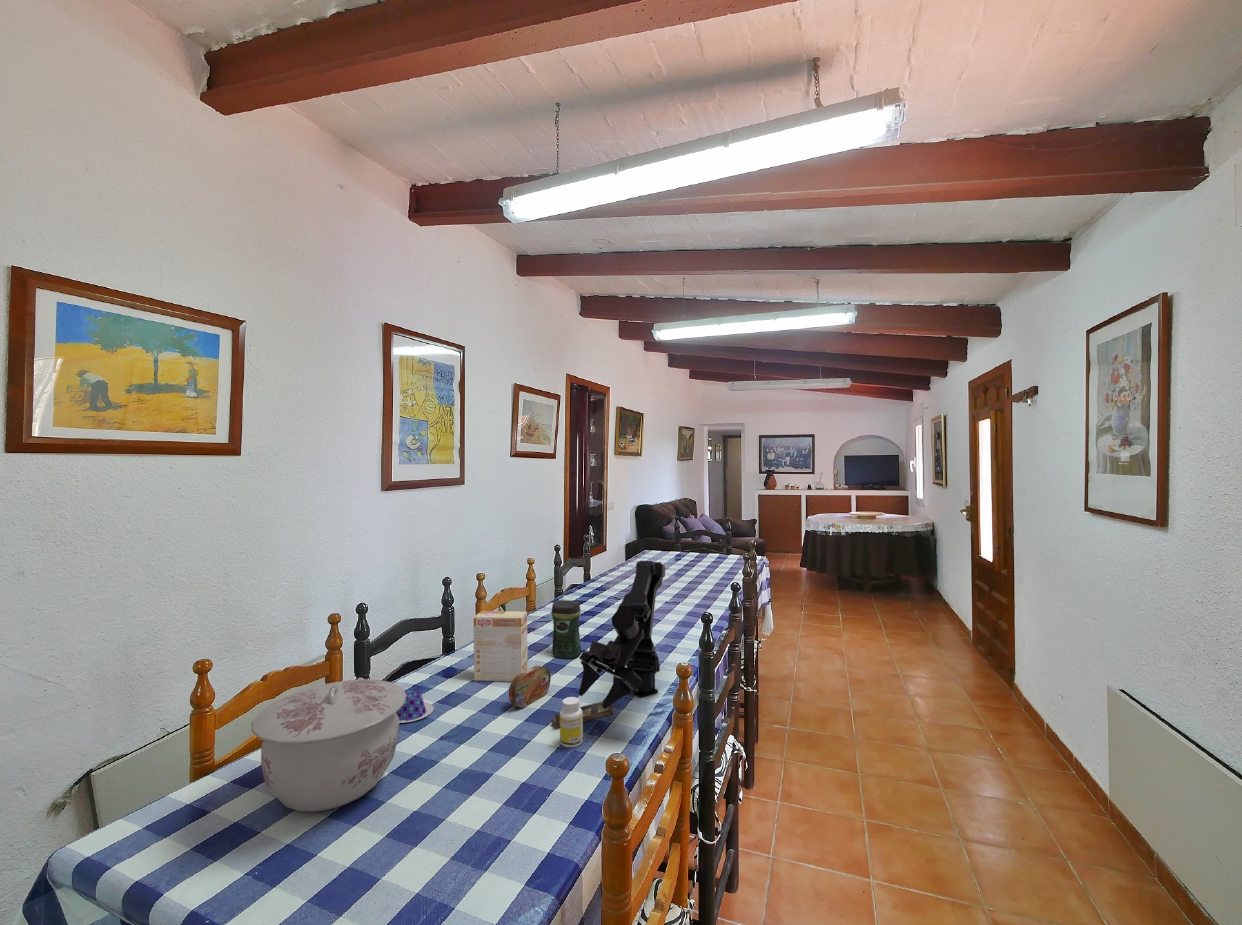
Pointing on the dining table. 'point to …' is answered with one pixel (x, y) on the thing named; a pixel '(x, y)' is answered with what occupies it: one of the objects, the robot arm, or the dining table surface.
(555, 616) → the coffee jar
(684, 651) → the dining table surface
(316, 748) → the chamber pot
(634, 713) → the dining table surface
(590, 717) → the rail
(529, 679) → the tin
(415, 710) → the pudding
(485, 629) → the coffeecake box
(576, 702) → the supplement bottle
